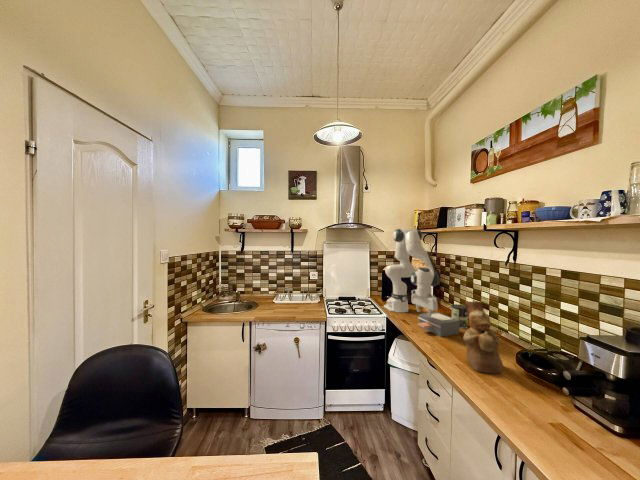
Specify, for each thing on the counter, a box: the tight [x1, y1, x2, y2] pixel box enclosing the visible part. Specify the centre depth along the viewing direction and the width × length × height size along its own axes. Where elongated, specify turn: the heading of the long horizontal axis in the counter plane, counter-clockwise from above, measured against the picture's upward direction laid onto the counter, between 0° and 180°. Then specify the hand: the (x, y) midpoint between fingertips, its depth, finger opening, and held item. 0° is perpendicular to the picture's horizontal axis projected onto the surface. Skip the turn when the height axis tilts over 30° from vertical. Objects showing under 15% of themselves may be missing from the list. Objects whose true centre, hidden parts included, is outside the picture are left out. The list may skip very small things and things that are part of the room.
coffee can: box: [450, 303, 469, 330], centre depth 176 cm, size 10×10×14 cm
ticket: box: [417, 322, 433, 329], centre depth 167 cm, size 6×20×1 cm, turn 110°
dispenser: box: [417, 311, 461, 338], centre depth 168 cm, size 19×17×9 cm
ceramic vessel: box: [463, 301, 504, 374], centre depth 124 cm, size 16×22×30 cm
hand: (423, 313), depth 163 cm, fingers open, 8 cm apart
